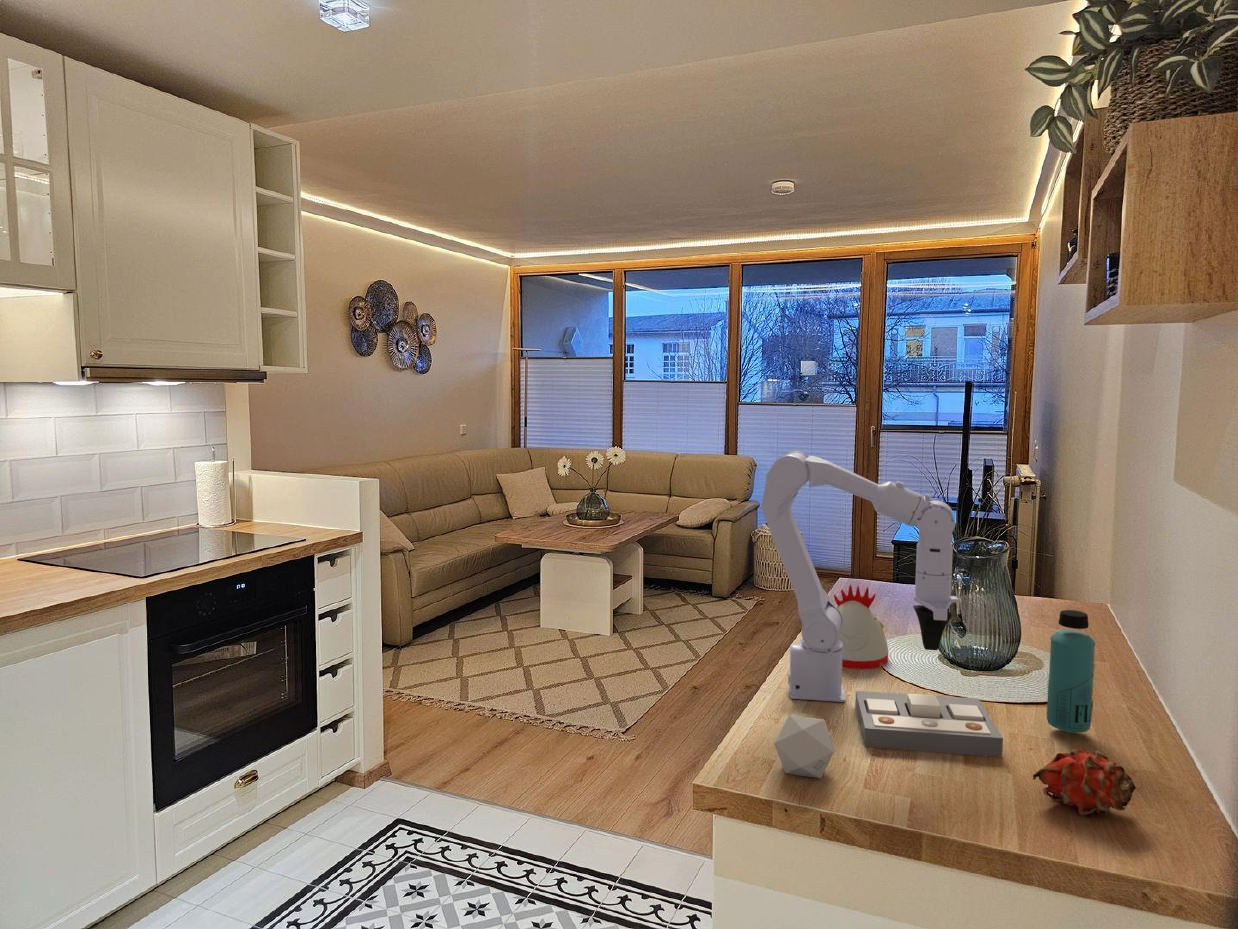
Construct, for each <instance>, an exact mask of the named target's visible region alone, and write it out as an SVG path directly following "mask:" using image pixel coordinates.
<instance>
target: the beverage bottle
mask: <svg viewBox="0 0 1238 929" xmlns="http://www.w3.org/2000/svg"><path fill="white" fill-rule="evenodd" d="M1058 625H1059V626H1062V627H1064V629H1059V630H1058V631H1056V632H1054V633H1053V634H1052V635H1050V637H1049V638H1050V652H1049V653H1050V654H1049V671H1048V672H1049V673H1048V676H1047V677H1048V679H1047V682H1046V683H1047V688H1046V689H1047V693H1046V695H1047V701H1046V702H1045V703H1046V704H1045V705H1046V707H1045V713H1046V716H1045V717H1046V720H1047V723H1048V725H1050V726H1051V727H1053V728H1055V729H1057V730H1060V731H1064V732H1069V733H1076V734H1077V733H1087V732H1088V731H1089V730H1090V728H1091V726H1092V724H1093V718H1092V715H1093V707H1094V703H1093V702H1094V700H1093V696H1094V695H1093V692H1094V690H1093V687H1094V684H1093V683H1094V677H1095V670H1096V667H1095V666H1096V665H1095V648H1096V641H1095V640H1094V639H1093V638H1092V637H1091V636H1090V634H1088V633H1087V632H1084V631H1081V630H1086V629H1088V628H1089V615H1088V613H1086V612H1083V611H1080V610H1076V609H1075V610H1074V609H1064V610H1061V611H1060V612H1059V618H1058ZM1065 628H1067V629H1065Z"/></svg>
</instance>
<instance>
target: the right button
mask: <svg viewBox="0 0 1238 929" xmlns="http://www.w3.org/2000/svg"><path fill="white" fill-rule="evenodd" d="M948 712H949V714H950V716H951V718H952V719H963V720H977V721H983V715H982V714H981V712H980V710H979V709H978V707H977V706H974V705H958V704H948Z"/></svg>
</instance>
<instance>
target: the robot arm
mask: <svg viewBox="0 0 1238 929" xmlns="http://www.w3.org/2000/svg"><path fill="white" fill-rule="evenodd" d="M807 482H809V484H808V487H809V488H813V487H819V486H826V485H827V486H831V487H834V488H836V489H838V490H841V491H844V492H846V493H849V494H851V495H854V496H857V497H859V498H861V499H864V500H866V501H869V502H871V504H872V506H873V509H874V510H875V512H877V513H879V514H881V515H884V516H886V517H887V518H890V519H893V520H894V521H897V522H899V523H901V524H904V525H906V526H909V527H917V529H918V542H917V544H916V555H915V557H916V560H915V580H914V582H915V586H914V588H915V589H914V594H913V601H914V602H915V603H917V604H916V605H915V604H914V605H913V609H914V611H915V614H916V616H917V619H918V623H919V628H920V635H921V640H922V646H923V648H924V650H925V651H938V650H939V647H940V643H941V640H942V637H943V632H944V630H945V629H946V626H947V624H948V623H949V621H950V620H951V619H952V613H951V611H950V609H949V607H950V606H951V605H952V604H957V603H959V598H958V597H957V596H956V595H952V576H953V575H952V574H953V573H952V572H953V555H954V554H953V553H954V552H953V551H954V550H953V549H954V548H953V547H954V546H953V545H952V543H953V532H954V530H955V528H956V522H955V516H954V512H953V510H952V507H950V505H949V504H947V503H946V502H944V501H943V500H942V499H941V498H932V495H931V494H928V493H925V495H924V494H921V493H918V492H916V491H914V490H911V489H909V488H906V487H905V483H904V482H902V481H899V480H897V481H896V483H895V482H892V481H886V482H884V483H881V484H879V483H876V482H874V481H872V480H869V479H867V478H866V477H863V476H862V475H859V474H857V473H855V472H853V471H851V470H848V469H846V468H844V467H842V466H839V465H837V464H835V463H833V462H831V461H829V460H826V459H824V458H821V457H818V456H814V455H808V454H806V453H804V452H803V451H800V450H799V451H798V450H792V451H789V452H787V453H785V454H784V455H783V456H781V457H779V458H778V459H776V460H775V461H774V462H773V464H772V465H771V467H770V469H769V471H768V472H767V474H766V475H765V484H764V490H763V495H762V500H761V504H760V505H761V506H760V507H761V512H762V514H763V518H764V520H765V522H766V525H767V528H768V530H769V532H770V535H771V537H772V539H773V543H774V545H775V547H776V550H777V553H778V555H779V558H780V560H781V562H782V565H783V567H784V570H785V573H786V575H787V578H788V580H789V582H790V585H791V587H792V590H793V593H794V595H795V597H796V600H797V607H798V615H799V617H800V618H799V619H800V621H801V637H802V640H801V642H798V643H790V649H789V650H790V652H789V653H790V655H789V656H790V657H789V673H788V675H787V684H788V685H789V694H790V696H789V697H790V699H796V700H807V701H821V702H822V701H823V702H824V701H825V702H835V703H836V702H838V703H844V702H846V696H845V691H844V687H843V667H842V654H843V643H842V642H841V641H840V639H839V637H838V635H839V630H840V629H841V627H842V623H843V618H842V614H841V612H840V611H839V610H838V608H837V606H836V605H834V604H833V601H831V599H830V596H829V594H828V593H827V591H825V589H824V588H823V585H822V583H821V581H820V579H819V576H818V574H817V570H816V569H815V566H814V563H813V560H812V558H811V556H810V554H809V551H808V548H807V546H806V543H805V541H804V538H803V536H802V534H801V531H800V529H799V526H798V524H797V521H796V519H795V516H794V513H793V511H792V505H793V503H794V502H795V499H796V498H797V495H798V492H799V491H800V490H801V489H802V488H803V486H805V485H806V484H807Z"/></svg>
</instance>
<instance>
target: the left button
mask: <svg viewBox="0 0 1238 929" xmlns="http://www.w3.org/2000/svg"><path fill="white" fill-rule="evenodd" d="M866 711H867V713H875V714H890V715H898V711H897V708H896V705H895V702H894V700H882V699H866Z"/></svg>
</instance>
